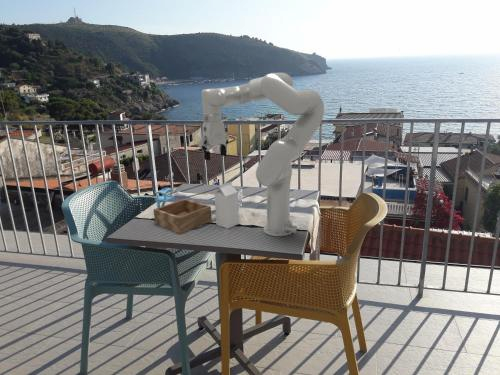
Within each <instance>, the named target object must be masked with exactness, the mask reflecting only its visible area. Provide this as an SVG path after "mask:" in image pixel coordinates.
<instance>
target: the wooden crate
mask: <svg viewBox="0 0 500 375" xmlns="http://www.w3.org/2000/svg"><path fill="white" fill-rule="evenodd" d="M161 206H162V205H161ZM161 206H160V207H159V208H157V207H156V208H154V209H153V215H154V216H153V218H154V224H155V225H156V226H160V227H162V228H164V229H168V230H169V231H173V232H175V233H179V234H181V235H182V234H183V233H184V234H185V233H186V232H188V231H191V230H194V229H195V228H199V227H200V226H204V225H205V224H207V223H210V222H212V221H213V219H212V218H213V217H212V206H211V205H208V204H205V203H201V202H197V201H194V200H190V199H186V198H182V199H180V200H176V201H174V202H172V203H168V204H165V205H164V206H162V207H161Z"/></svg>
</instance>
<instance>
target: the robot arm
mask: <svg viewBox="0 0 500 375" xmlns="http://www.w3.org/2000/svg"><path fill="white" fill-rule="evenodd" d="M293 82H294V81H293V79H292V77H291V76H290V75H289V74H288V73H286V72H271V73H267V74H266V75H264V76H262V77H256V78H252V79H250V80H249V82H247V83H244V84H240V85H235V86H227V87H218V88H206V89H205V88H204V89H202V90H201V93H200V94H201V105H202V112H203V113H202V115H203V117H202V118H201V119H202V121H203V123H202V138H201V139H200V140H199V141H198V143H197V144H198V145H199V148H200V149H201V150H202V151H203V155H204V157H203V158H204V161H211V152H210V148H211V147H216V146H220V147H219V150H220V156H222V157H227V147H228V145H229V144H228V143H229V139H230V136H229V135H227V132H226V127H225V123H224V120H222V113H221V108H225V107H226V108H227V107H229V106H230V107H231V106H237V105H241V104H246V103H250V102H255V103H256V102H259V101H264V100H269V101H270V102H272V103H274V104H275V105H276V106H278V107H279V108H280V109H282V110H283V111H285V112H286V113H288V114H289V115H290V116H291V115H292V116H299V117H297V119H296V120H295V122H294V123H293V124H292V126H291V127H290V129H289V131H288V132H287V133H286V135H285V136H283V137H282V138H279V139H277V140H274V141H273V143H271V145H270V146H269V148H268V149H267V150H266V152H265V153H264V154H263V157H262V158H261V160H260V162H259V163H258V166H257V167H256V171H255V178H256V180H257V182H258V183H259V184H260V185H262V186H263V187H266V225H264V226H263V232H264V234H266V235H269V236H272V237H285V236H290V235H291V234H293V233H297V229H298V226H297V225H293V221H292V220H291V207H290V206H291V182H292V181H291V180H292V175H293V174H292V173H293V168H292V162H294V161H296V160H298V159H299V158H300V157H301V155H302V153H303V152H304V150H305V149H306V147H307V146H308V144H309V143H310V141H311V140H312V138H313V136H314V134H315V133H316V131H317V130H318V129H319V127H320V125H321V123H322V120H323V118H324V114H325V105H324V101H323V99H322V96H321V95H320V94H319V93H318V92H317V91H315V90H313V89H308V88H307V89H300V90H298V89H296V88H294V87H293V86H294V85H293V84H294V83H293Z"/></svg>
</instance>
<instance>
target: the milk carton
mask: <svg viewBox="0 0 500 375" xmlns="http://www.w3.org/2000/svg"><path fill="white" fill-rule="evenodd" d="M238 194H239V193H238V191H237V190H236V188H235V186H234V185H233V183H232V181H228V182H226V183H222V184H219V188H218V189H217V190H216V191H215V192H214V209H215V224H216V225H217V226H219V227H221V228H224V229H230V228H232V227H234V226H237V225H239V224H240V221H239V219H240V218H239V198H238V196H239V195H238ZM216 225H215V226H216Z"/></svg>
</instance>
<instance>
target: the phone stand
mask: <svg viewBox="0 0 500 375" xmlns="http://www.w3.org/2000/svg"><path fill="white" fill-rule="evenodd" d="M154 193H155V196H156V198H154V201H155V202H156V206H157V207H156V208H159V207H162V206H165V205H166V203H168V202H169V201H170V200H173V199H175V196H174V195H173V189H172V188H171V187H164V188H161V189H159V190H158V191H155V192H154ZM169 193H170V194H169ZM158 194H161V196H159V195H158ZM168 194H169V195H168Z"/></svg>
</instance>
